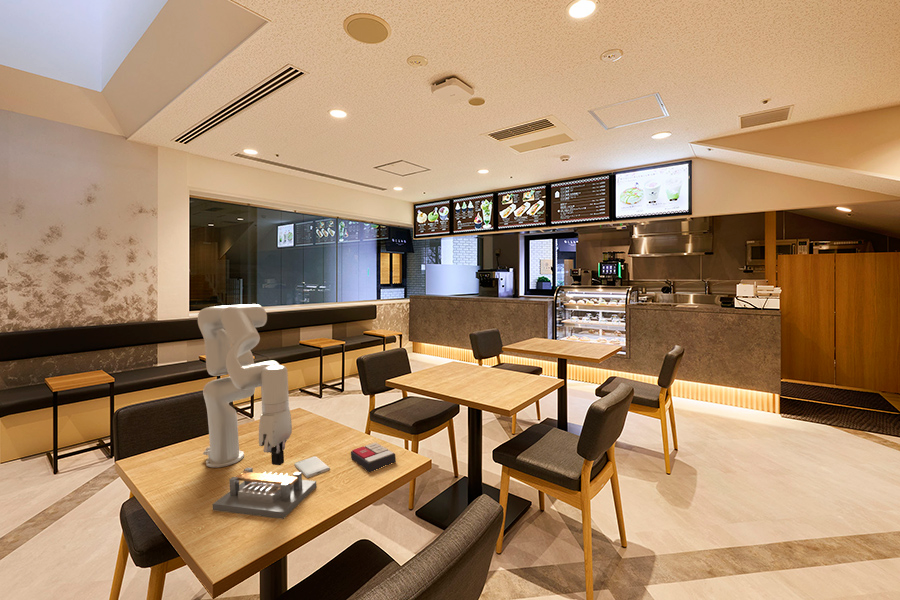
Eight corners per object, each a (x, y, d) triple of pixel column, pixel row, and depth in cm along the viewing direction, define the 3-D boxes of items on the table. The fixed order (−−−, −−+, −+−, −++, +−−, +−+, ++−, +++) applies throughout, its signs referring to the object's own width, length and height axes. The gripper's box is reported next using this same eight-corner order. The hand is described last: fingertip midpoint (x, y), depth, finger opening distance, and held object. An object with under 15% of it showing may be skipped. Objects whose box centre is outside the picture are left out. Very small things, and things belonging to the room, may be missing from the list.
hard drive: (294, 462, 141) (307, 474, 132) (316, 455, 146) (329, 466, 137) (294, 467, 141) (307, 479, 132) (316, 459, 147) (330, 471, 137)
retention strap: (235, 481, 120) (234, 476, 120) (243, 475, 124) (243, 470, 124) (290, 486, 116) (290, 481, 116) (298, 480, 119) (297, 475, 119)
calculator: (376, 441, 153) (395, 451, 141) (376, 451, 153) (396, 463, 141) (350, 449, 146) (368, 461, 134) (350, 460, 146) (369, 473, 134)
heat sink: (227, 497, 117) (226, 481, 117) (250, 480, 127) (249, 465, 127) (284, 504, 113) (283, 487, 113) (304, 486, 123) (303, 470, 122)
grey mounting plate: (212, 510, 115) (212, 503, 114) (253, 480, 131) (253, 475, 131) (283, 519, 109) (283, 512, 109) (316, 487, 126) (316, 481, 126)
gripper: (280, 397, 126) (282, 451, 127) (247, 414, 111) (250, 474, 113) (301, 399, 124) (302, 453, 125) (269, 416, 109) (272, 477, 111)
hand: (277, 463), depth 119 cm, fingers closed
